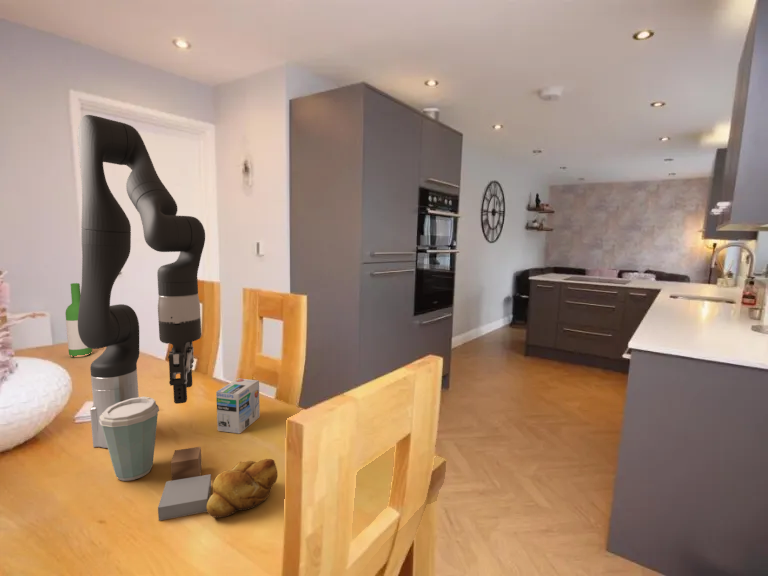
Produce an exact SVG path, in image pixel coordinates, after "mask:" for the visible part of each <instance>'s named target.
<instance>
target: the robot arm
mask: <svg viewBox="0 0 768 576" xmlns="http://www.w3.org/2000/svg"><path fill="white" fill-rule="evenodd" d="M77 147H78V157H79V158H78V159H79V169H80V181H81V254H82V257H81V261H82V262H81V264H82V265H81V286H80V294H81V295H80V304H79V312H78V332H79V336H80V339H81V341H82V342H83V344H84V345H85V346H87V347H88V348H91V349H92V350H98V349H101V348H103V349H104V348H105V350H104V351H103V353H101V355H99V356H98V357H97V358H96V359H95V360H93V361H92V362H91V364H90V366H89V368H90V378H91V379H90V380H91V392H92V394H91V395H92V402H93V404H92V406H91V407H90V410H89V411H90V425H91V426H90V427H91V437H92V447H93V448H97V447H98V448H104V449H106V448H107V449H108V446H107V443H106V439H105V436H104V432H103V429H102V425H101V424H100V422H99V417H100V415H102V413H103V412H104V411H105V410H106V409H107V408H108V407H110V406H112V405H114V404H116V403H118V402H122V401H125V400H128V399H131V398H137V397H140V395H139V384H138V383H139V382H138V369H137V368H138V367H137V365H138V364H137V363H138V360H139V357H140V323H139V317H138V315H137V313H136V312H135V310H134V309H133V307H131V306H130V305H127V304H112V305H111V297H112V296H111V295H112V290H113V287H114V284H115V282H116V280H117V278H118V276H119V275H120V273H121V271H122V270H123V269H124V267H125V264H126V263H127V261H128V259H129V256H130V254H131V247H132V243H131V242H132V241H131V240H132V239H131V238H132V237H131V236H132V229H131V227H132V226H131V222H130V220H129V218H128V216H127V214H126V213H125V211H124V209H123V208H122V206H121V204H120V203H119V202H118V200H117V199H116V197H115V196H114V195H113V193H112V191H111V189H110V187H109V184H108V182H107V179H106V174H105V171H104V169H105V168H104V163H106V164H107V163H108V164H114V165H119V166H123V165H124V166H127V167H128V168H129V169H130V170H131V172H129V175H128V178H127V180H126V183H125V184H126V185H125V187H126V188H125V189H126V194H127V196H128V198H129V199H130V201H131V203H132V205H133V206H134V208H135V209H136V210H137V212H138V214H139V216H140V221H141V224H142V225H141V226H142V230H143V238H144V241H145V243H146V244H147V246H148V247H149V248H151V249H152V250H154V251H157V252H159V253H172V252H173V253H175V252H178V253H179V254H178V257H177V259H176V260H175V261H173V262H171V263H167V264H164V265H161V266H160V267H158V269H157V292H158V293H157V295H158V300H157V301H158V303H157V317H158V319H157V320H158V335H159V340H160V341H159V342H161V343H163V344H171V345H172V347H171V350H170V351H169V352H168V353H169V354H168V356H167V358H168V368H169V383H168V384H169V385H170V386H172V387H173V403H174V404H184V403H186V402H187V401H188V391H187V390H188V389H187V388H191V387H192V386H193V367H194V365H193V364H194V362H195V357H194V351H195V350H194V345H193V342H195V341H198V340H199V339H201V338H202V322H201V321H202V319H201V318H202V317H201V302H200V297H199V287H198V286H199V283H198V272H199V268H200V263H201V258H202V254H203V251H204V246H205V243H206V230H205V227H204V225H203V223H202V222H201V220H199V218H198V217H195V216H189V215H177V214H178V203H177V202H176V200H175V199H174V197H173V196H172V194H171V193H170V192H169V190H168V188H167V187H166V186H165V185H164V183H163V182H162V180H161V179H160V177H159V175H158V173H157V171H156V168H155V166H154V164H153V162H152V158H151V157H150V153H149V151H148V149H147V147H146V145H145V142H144V140H143V138H142V136H141V134H140V133H139V131H138V130H137V129H136V128H135V127H134V126H133V125H131V124H128V123H125V122H121V121H118V120H113V119H108V118H105V117H101V116H97V115H93V114H86V115H83V116H82V117H81V119H80V121H79V123H78V129H77ZM178 374H179V375H180V376H179V377H178V378H177V375H178Z"/></svg>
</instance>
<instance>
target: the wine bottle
mask: <svg viewBox="0 0 768 576" xmlns="http://www.w3.org/2000/svg"><path fill="white" fill-rule="evenodd" d="M80 285H81V284H80V283H77V282H76V283H75V282H74V283H70V294H71V295H70V297H71V303H70V304H69V305H68V306H67V307H66V310H65V325H66V335H67V336H66V337H67V338H66V339H67V346H68V347H67V348H68V355H72V356H77V355H85V354H89V353H91V352H92V353H93V349H91V348H88V347H87V346H85V345H84V344H83V342H82V341H81V339H80V336H79V332H78V312H79V304H80V295H81V286H80Z"/></svg>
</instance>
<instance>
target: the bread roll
mask: <svg viewBox="0 0 768 576" xmlns="http://www.w3.org/2000/svg"><path fill="white" fill-rule="evenodd" d="M277 480H278V469H277V466H276V463H275V460H274V459H271V458H265V459H262V460H261V459H260V460H258V461H253V460H246V461H239V462H238V463H237V464H236V465H235V466H234V467H233V468H232V469H226V470H224V471H222V472H221V473H219V474H218V475H217V476H216V478H215V479H214V480H213V483H212V494H210V498H209V500H208V502H207V507H206V508H207V513H208V514H209V515H210V516H211V517H214V518H226V517H229V516H231V515H233V514H235V513H237V512H238V511H246V510H249V509H253V508H255V507H257V506H259V505H260V504H262V503H264V502H265V501H266V500H267V499H268V498H269V496H270V494H271V492H272V487H273V486H274V484H275V483H276V482H277Z"/></svg>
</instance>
